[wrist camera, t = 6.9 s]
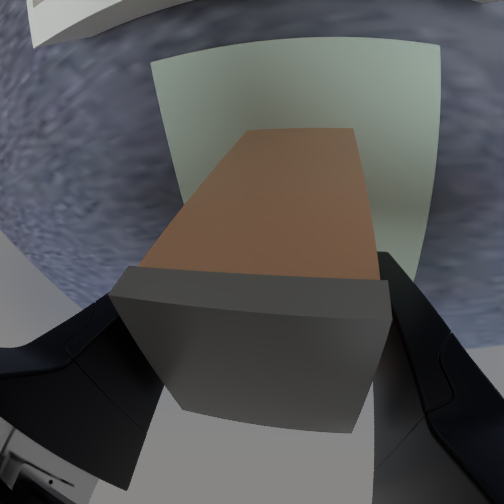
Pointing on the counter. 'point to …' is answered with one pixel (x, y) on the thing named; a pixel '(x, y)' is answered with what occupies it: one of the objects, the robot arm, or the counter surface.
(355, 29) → the counter surface
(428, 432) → the robot arm
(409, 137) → the mat
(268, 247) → the tan rectangular block
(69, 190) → the counter surface
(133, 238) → the counter surface
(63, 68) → the counter surface
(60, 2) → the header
